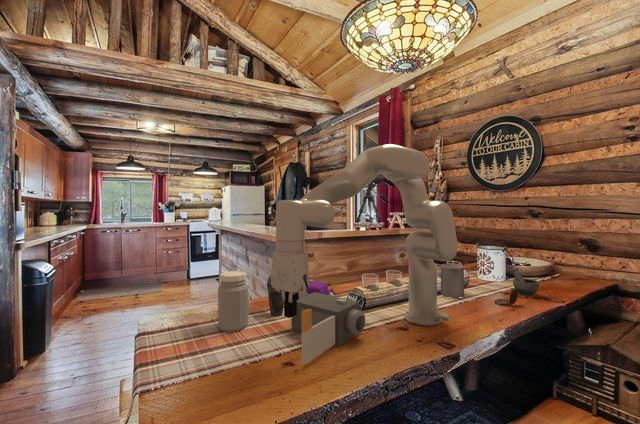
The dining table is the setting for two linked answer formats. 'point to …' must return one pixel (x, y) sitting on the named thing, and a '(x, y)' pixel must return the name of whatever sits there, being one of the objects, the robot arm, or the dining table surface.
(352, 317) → the camera body
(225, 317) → the jar
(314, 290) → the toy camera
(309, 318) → the door
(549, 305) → the dining table surface
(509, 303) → the compass
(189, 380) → the dining table surface
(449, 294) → the grey canister
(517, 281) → the mortar and pestle
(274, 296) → the beverage cup
